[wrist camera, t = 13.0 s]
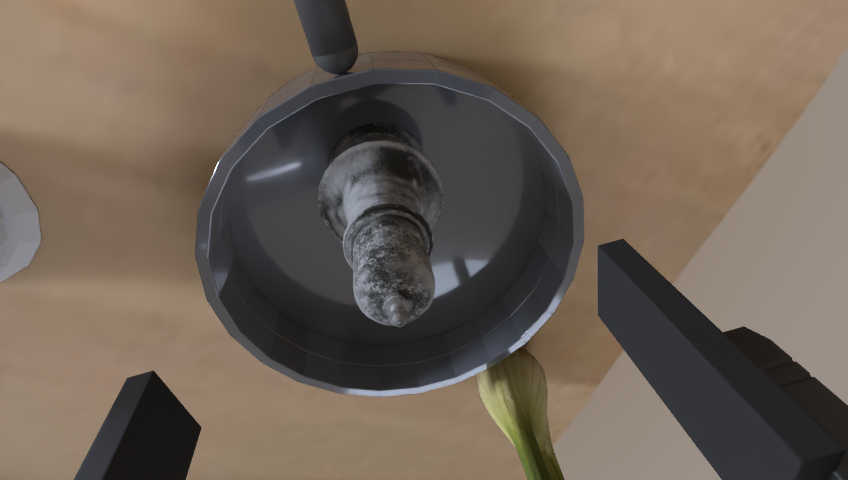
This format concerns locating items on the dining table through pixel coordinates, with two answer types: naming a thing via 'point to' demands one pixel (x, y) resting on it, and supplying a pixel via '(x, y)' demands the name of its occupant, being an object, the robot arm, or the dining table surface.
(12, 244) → the french press
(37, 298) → the dining table surface
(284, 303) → the pan
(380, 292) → the salt shaker
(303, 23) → the pan handle
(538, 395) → the fennel bulb
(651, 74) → the dining table surface
